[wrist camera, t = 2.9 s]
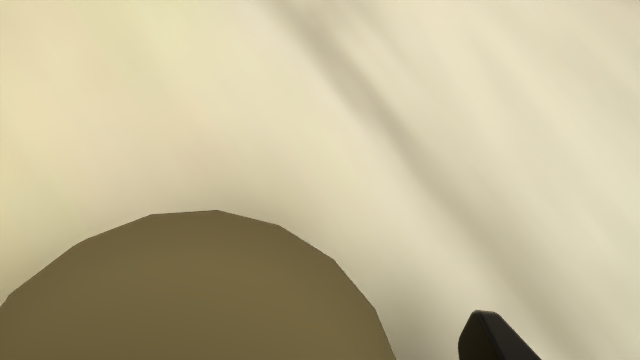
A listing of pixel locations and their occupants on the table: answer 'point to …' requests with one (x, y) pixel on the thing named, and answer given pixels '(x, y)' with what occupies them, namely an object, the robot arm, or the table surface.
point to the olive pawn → (191, 297)
